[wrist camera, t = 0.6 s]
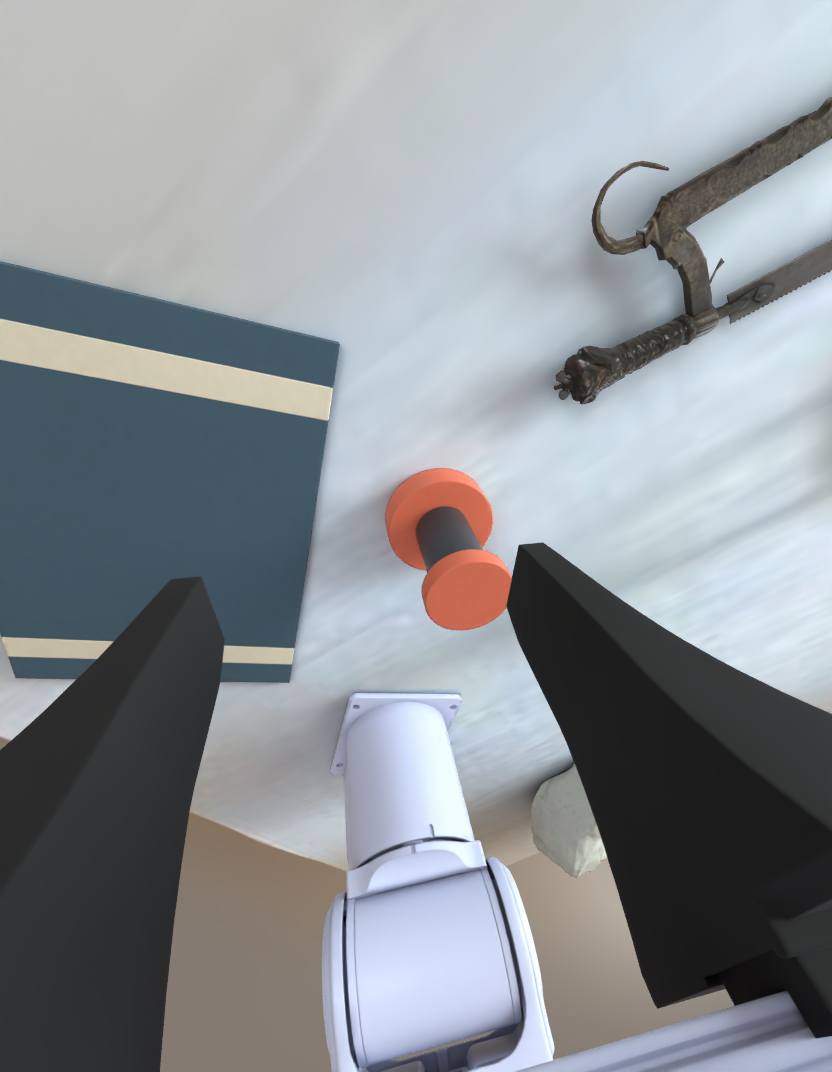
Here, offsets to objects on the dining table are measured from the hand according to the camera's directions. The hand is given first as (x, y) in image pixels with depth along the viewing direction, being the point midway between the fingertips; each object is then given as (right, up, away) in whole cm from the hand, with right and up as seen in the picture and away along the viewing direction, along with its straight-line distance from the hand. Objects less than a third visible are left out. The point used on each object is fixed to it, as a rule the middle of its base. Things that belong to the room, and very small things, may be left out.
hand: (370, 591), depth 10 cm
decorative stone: (+17, -22, +32) cm, 43 cm away
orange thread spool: (+2, +2, +12) cm, 12 cm away
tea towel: (-11, +1, +10) cm, 15 cm away
